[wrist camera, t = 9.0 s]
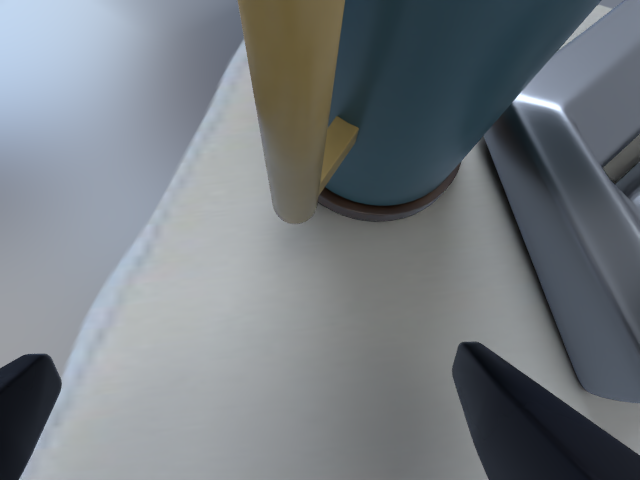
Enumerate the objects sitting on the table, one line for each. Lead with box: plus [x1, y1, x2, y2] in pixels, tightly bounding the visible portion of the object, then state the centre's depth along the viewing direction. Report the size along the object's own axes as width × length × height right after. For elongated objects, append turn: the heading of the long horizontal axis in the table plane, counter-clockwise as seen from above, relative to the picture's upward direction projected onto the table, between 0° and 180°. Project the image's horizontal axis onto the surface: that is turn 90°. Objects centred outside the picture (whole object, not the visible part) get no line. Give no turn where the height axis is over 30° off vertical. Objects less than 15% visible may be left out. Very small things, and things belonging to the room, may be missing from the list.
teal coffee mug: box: [238, 0, 601, 224], centre depth 12 cm, size 14×10×15 cm
